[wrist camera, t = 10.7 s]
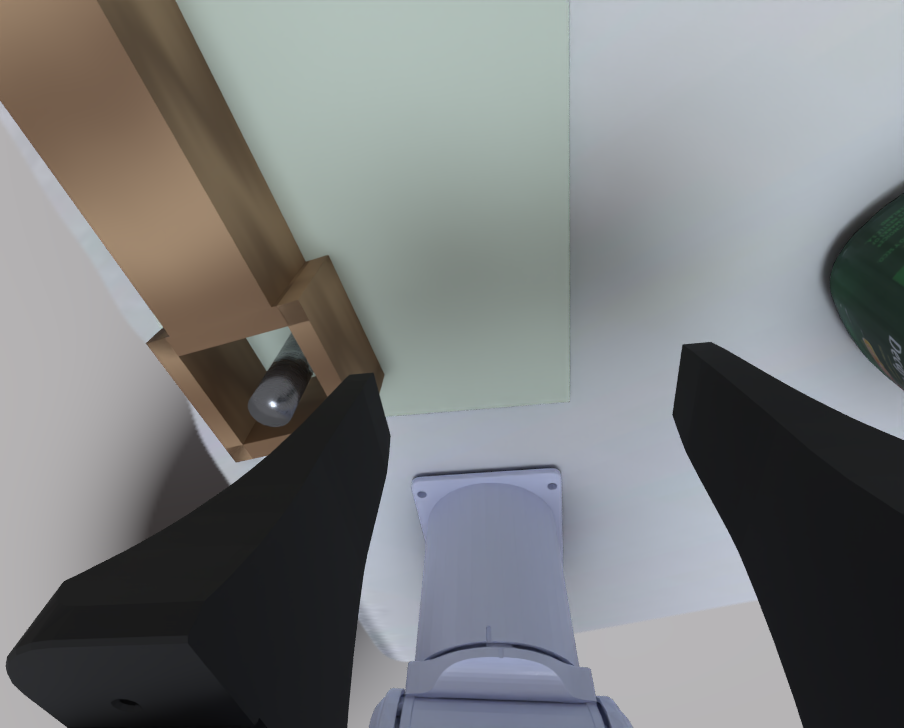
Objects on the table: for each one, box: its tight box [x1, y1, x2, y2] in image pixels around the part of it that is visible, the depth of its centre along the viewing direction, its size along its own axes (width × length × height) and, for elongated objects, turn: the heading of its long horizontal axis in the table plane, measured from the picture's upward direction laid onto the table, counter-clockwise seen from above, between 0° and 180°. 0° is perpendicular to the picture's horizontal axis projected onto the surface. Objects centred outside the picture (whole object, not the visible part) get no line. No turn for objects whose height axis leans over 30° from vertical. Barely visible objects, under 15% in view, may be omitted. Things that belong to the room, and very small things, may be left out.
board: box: [152, 0, 570, 417], centre depth 17 cm, size 27×18×1 cm, turn 8°
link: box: [0, 0, 385, 462], centre depth 16 cm, size 20×6×4 cm, turn 17°
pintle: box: [248, 332, 313, 427], centre depth 20 cm, size 2×2×5 cm
